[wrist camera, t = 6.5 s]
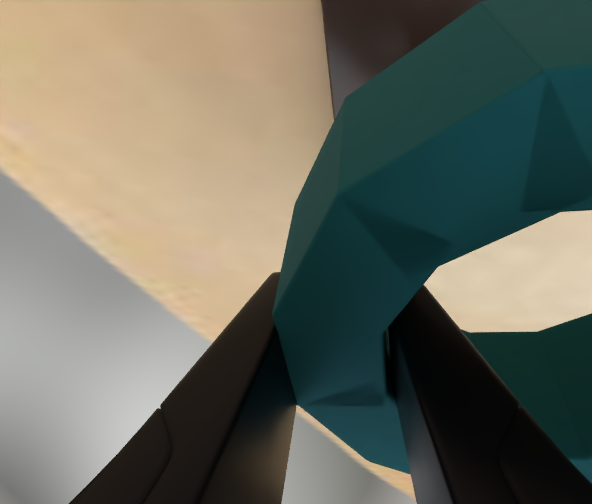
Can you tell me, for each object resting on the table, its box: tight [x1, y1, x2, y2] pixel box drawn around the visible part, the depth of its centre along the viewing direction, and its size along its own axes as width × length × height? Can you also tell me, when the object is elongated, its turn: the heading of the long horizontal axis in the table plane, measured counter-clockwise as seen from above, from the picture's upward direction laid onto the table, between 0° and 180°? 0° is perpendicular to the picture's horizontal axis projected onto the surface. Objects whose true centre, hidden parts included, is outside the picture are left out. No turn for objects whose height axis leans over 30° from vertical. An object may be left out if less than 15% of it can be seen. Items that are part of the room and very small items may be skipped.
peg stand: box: [321, 0, 485, 120], centre depth 14 cm, size 8×8×8 cm
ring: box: [272, 0, 592, 483], centre depth 8 cm, size 9×9×3 cm
